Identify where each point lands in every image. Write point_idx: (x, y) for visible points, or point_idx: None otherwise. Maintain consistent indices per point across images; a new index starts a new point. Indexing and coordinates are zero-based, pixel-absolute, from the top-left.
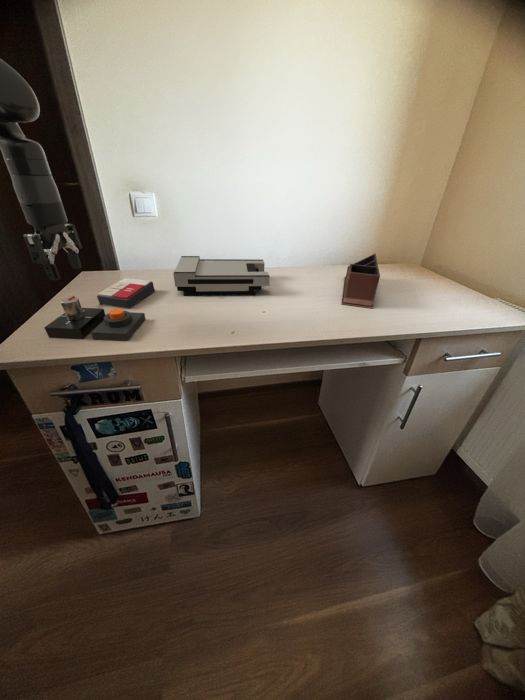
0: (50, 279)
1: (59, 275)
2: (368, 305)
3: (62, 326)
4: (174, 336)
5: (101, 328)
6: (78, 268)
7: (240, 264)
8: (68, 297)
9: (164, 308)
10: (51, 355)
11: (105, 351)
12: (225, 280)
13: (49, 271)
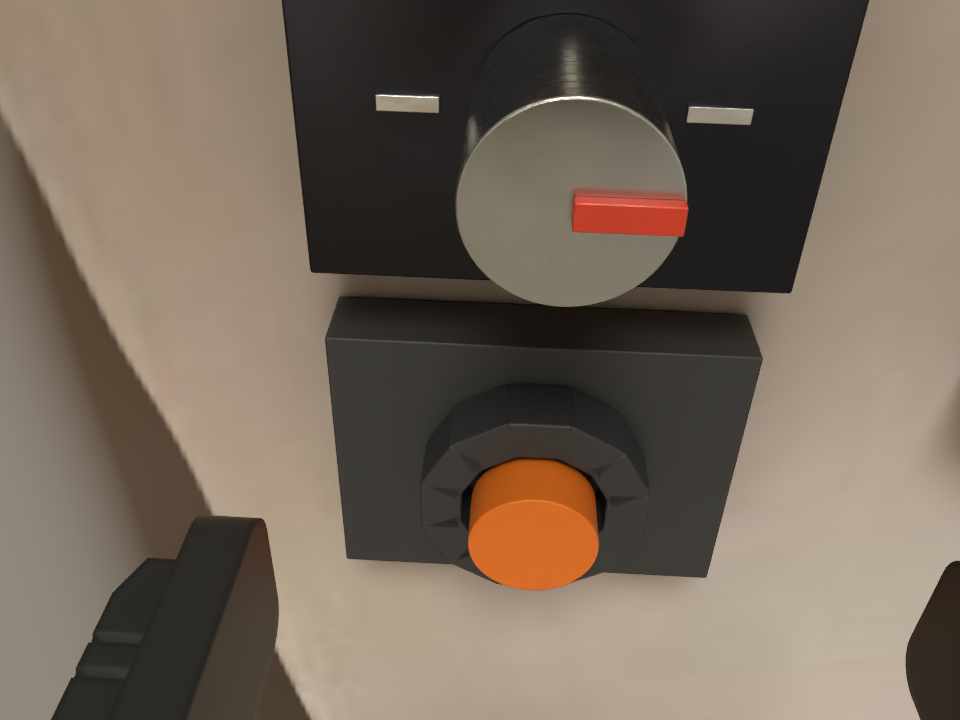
0: (198, 521)
1: (260, 689)
2: None
3: (326, 82)
4: (452, 697)
5: (400, 391)
6: (910, 649)
7: None
8: (659, 154)
9: (904, 594)
10: (31, 93)
11: (203, 432)
12: None
13: None
